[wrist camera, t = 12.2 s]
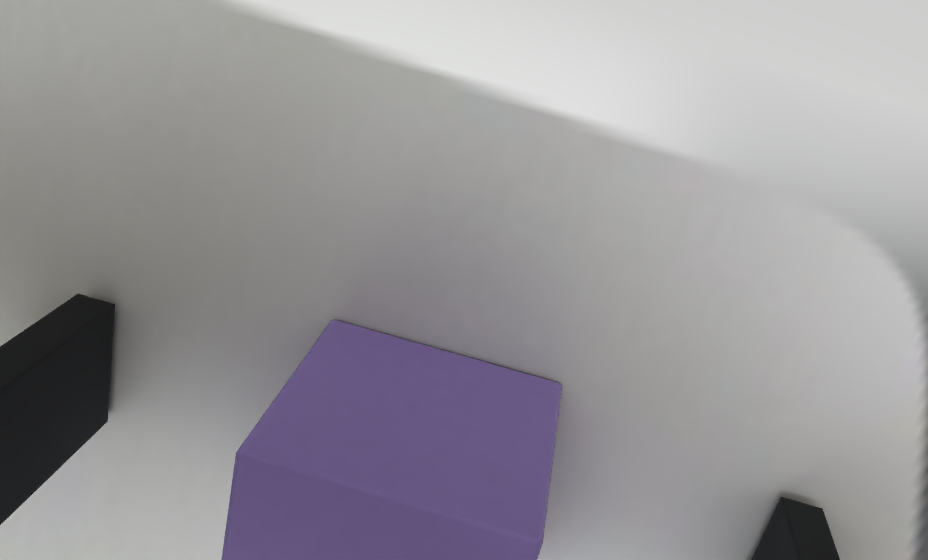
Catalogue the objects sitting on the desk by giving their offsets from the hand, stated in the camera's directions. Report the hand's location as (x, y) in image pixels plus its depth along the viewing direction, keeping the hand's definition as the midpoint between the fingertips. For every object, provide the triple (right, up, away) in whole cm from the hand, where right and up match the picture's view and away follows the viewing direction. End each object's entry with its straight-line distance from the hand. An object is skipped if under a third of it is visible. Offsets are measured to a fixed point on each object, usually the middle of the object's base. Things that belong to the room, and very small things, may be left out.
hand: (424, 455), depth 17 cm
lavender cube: (0, 0, 0) cm, 0 cm away
